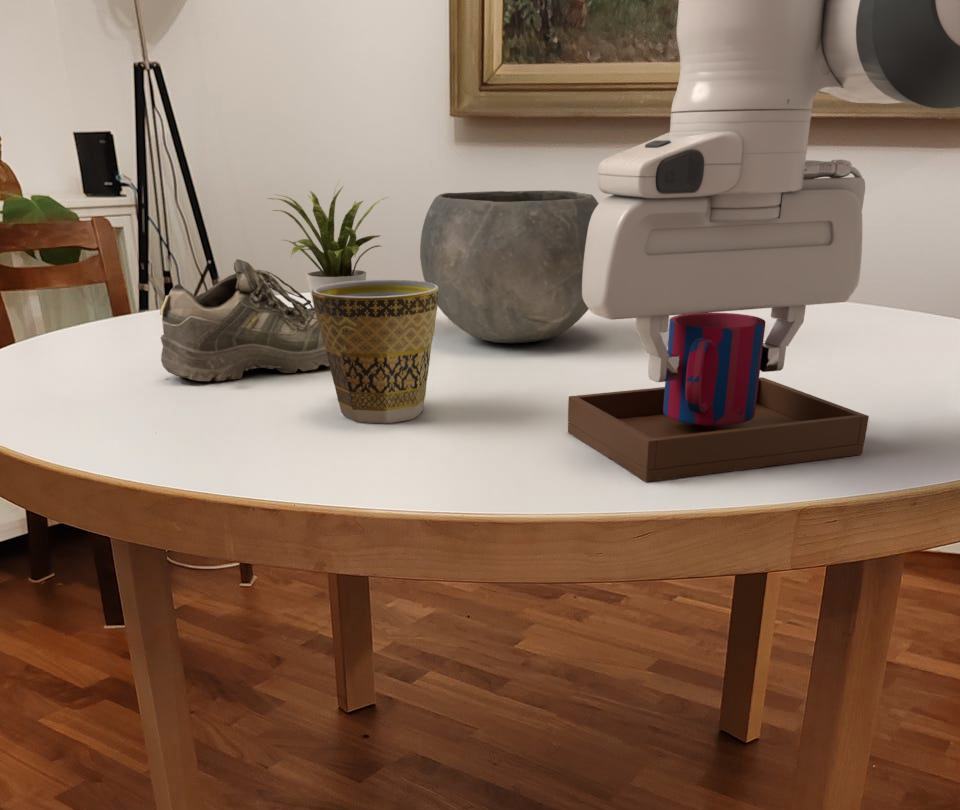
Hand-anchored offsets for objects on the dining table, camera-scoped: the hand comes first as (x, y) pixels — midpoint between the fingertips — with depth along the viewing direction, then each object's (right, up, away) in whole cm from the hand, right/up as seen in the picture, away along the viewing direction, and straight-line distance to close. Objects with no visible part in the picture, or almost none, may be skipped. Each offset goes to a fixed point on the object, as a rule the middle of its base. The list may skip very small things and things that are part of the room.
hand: (715, 375), depth 71 cm
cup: (-1, -3, +1) cm, 3 cm away
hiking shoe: (-38, +8, +28) cm, 48 cm away
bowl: (-13, +14, +40) cm, 44 cm away
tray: (0, -4, +2) cm, 5 cm away
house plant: (-35, +19, +48) cm, 63 cm away
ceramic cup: (-26, 0, +12) cm, 29 cm away
